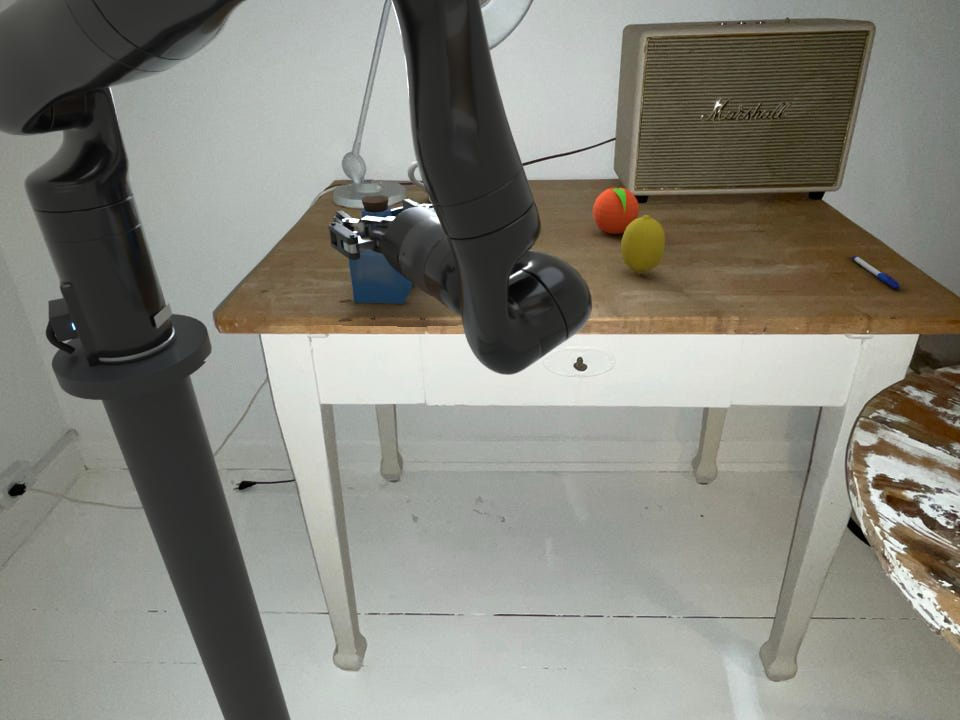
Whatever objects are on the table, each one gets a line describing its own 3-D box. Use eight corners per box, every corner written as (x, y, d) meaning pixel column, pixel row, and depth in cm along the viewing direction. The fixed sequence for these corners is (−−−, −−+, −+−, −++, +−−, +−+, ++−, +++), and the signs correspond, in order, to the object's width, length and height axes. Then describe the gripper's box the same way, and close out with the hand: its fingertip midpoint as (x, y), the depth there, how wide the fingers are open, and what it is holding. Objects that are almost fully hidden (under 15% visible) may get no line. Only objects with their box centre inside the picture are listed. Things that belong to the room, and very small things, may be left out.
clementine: (644, 241, 94) (650, 194, 91) (599, 243, 94) (603, 196, 90) (628, 224, 101) (633, 180, 98) (586, 226, 101) (589, 182, 97)
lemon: (615, 266, 86) (621, 208, 82) (656, 266, 86) (663, 208, 82) (621, 282, 81) (628, 222, 77) (665, 282, 81) (673, 221, 77)
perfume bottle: (413, 283, 82) (406, 191, 76) (403, 303, 77) (395, 206, 71) (366, 282, 83) (356, 191, 77) (354, 302, 77) (341, 206, 71)
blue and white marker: (901, 290, 78) (904, 283, 77) (894, 290, 78) (897, 283, 77) (854, 259, 87) (856, 252, 86) (848, 259, 87) (850, 252, 86)
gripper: (494, 205, 65) (424, 173, 77) (364, 230, 59) (310, 190, 71) (494, 273, 69) (427, 232, 81) (372, 304, 62) (319, 254, 74)
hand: (372, 213), depth 76 cm, fingers open, 8 cm apart
